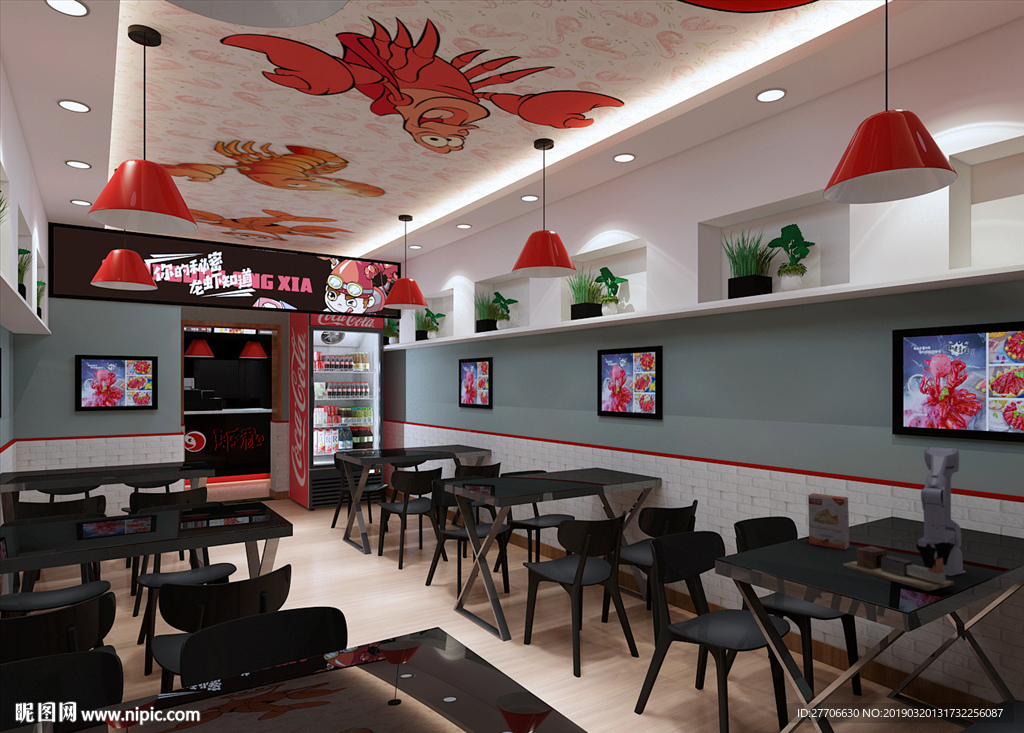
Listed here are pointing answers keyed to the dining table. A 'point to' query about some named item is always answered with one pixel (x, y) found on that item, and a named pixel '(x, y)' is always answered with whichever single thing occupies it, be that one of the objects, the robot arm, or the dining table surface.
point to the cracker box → (828, 521)
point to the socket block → (870, 557)
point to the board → (901, 578)
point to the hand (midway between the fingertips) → (935, 565)
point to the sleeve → (894, 565)
